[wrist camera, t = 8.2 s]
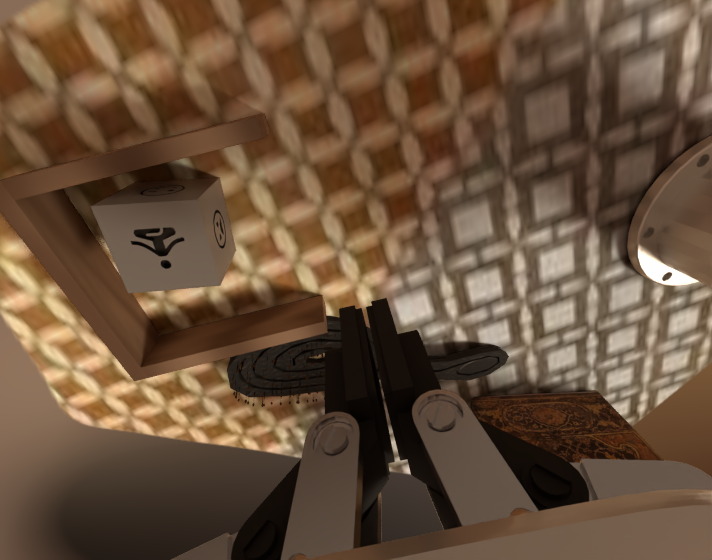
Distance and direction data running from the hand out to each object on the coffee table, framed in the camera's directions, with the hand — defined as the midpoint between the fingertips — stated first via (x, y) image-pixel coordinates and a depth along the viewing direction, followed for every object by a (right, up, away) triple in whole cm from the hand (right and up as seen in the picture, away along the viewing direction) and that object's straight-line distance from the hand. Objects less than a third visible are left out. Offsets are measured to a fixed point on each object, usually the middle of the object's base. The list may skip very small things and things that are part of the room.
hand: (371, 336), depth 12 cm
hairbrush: (+1, -4, +19) cm, 19 cm away
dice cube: (-12, +6, +10) cm, 17 cm away
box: (-11, +4, +11) cm, 16 cm away
